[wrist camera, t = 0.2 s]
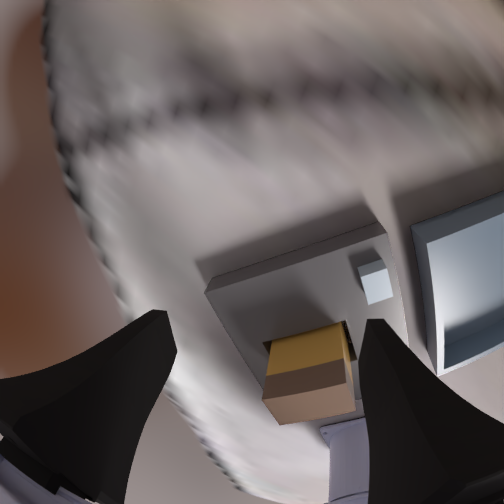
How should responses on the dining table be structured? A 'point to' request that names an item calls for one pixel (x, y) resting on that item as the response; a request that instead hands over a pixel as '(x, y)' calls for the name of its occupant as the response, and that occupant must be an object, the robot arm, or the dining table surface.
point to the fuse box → (311, 295)
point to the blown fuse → (309, 376)
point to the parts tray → (462, 282)
